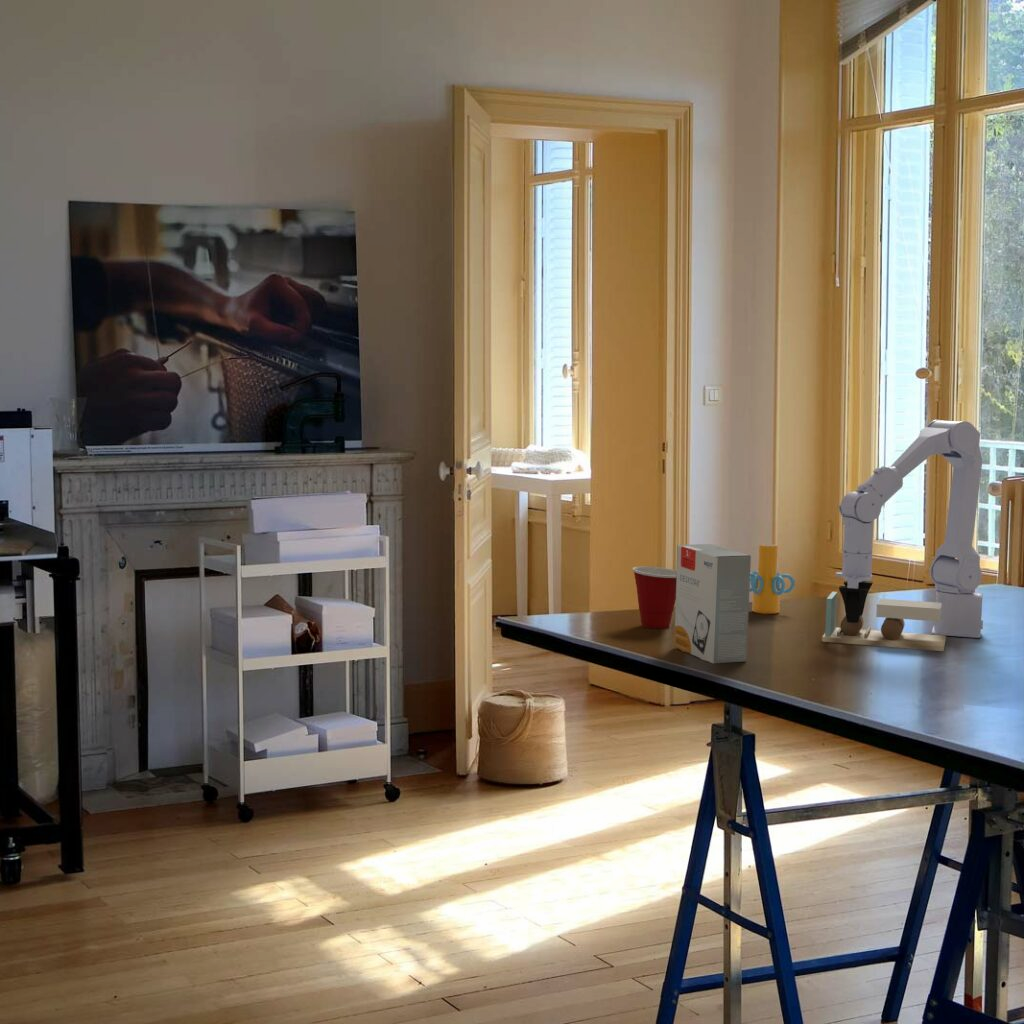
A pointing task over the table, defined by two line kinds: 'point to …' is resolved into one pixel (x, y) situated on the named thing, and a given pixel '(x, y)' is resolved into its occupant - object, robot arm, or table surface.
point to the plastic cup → (655, 595)
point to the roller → (851, 626)
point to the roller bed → (879, 633)
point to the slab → (909, 610)
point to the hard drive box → (712, 603)
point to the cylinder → (768, 582)
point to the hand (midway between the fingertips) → (854, 619)
